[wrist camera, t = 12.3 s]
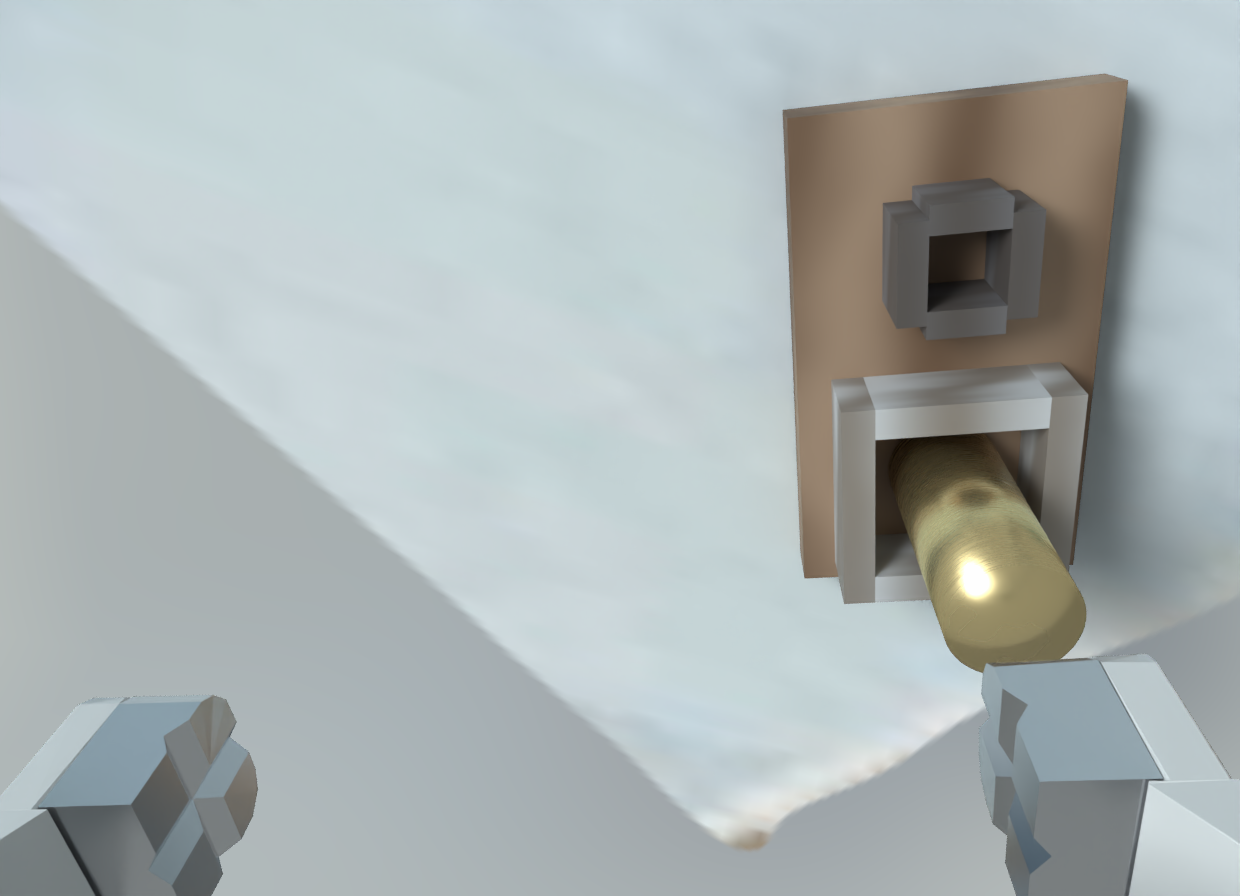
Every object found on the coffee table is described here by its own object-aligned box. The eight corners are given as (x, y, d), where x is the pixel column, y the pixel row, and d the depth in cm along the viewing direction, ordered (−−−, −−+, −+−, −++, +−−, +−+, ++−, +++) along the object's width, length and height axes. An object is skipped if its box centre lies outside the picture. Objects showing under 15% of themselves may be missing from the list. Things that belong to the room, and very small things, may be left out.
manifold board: (1105, 73, 33) (1167, 92, 28) (1057, 538, 41) (1099, 608, 37) (782, 110, 34) (793, 132, 30) (800, 552, 43) (811, 621, 38)
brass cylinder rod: (999, 415, 37) (1093, 561, 28) (993, 509, 39) (1079, 673, 30) (888, 423, 37) (945, 569, 28) (887, 515, 39) (940, 678, 30)
